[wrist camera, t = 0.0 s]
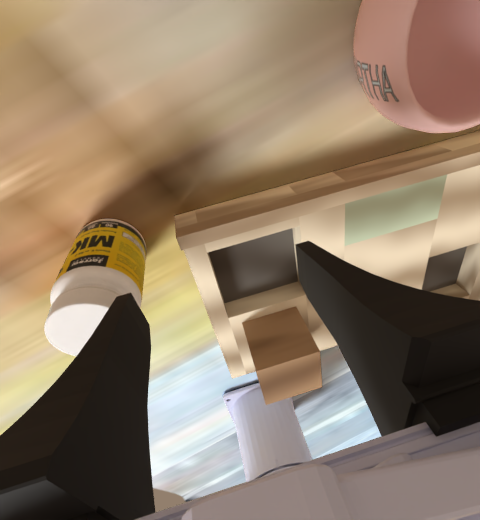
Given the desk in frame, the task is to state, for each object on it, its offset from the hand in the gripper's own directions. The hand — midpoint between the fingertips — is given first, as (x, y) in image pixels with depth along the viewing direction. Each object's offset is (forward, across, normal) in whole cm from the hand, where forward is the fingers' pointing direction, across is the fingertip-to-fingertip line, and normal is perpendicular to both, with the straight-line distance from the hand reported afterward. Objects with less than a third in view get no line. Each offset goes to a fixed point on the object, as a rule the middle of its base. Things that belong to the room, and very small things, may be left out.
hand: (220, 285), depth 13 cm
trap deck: (+10, -12, +10) cm, 18 cm away
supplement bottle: (+10, +7, +2) cm, 13 cm away
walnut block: (+8, -3, +14) cm, 16 cm away
